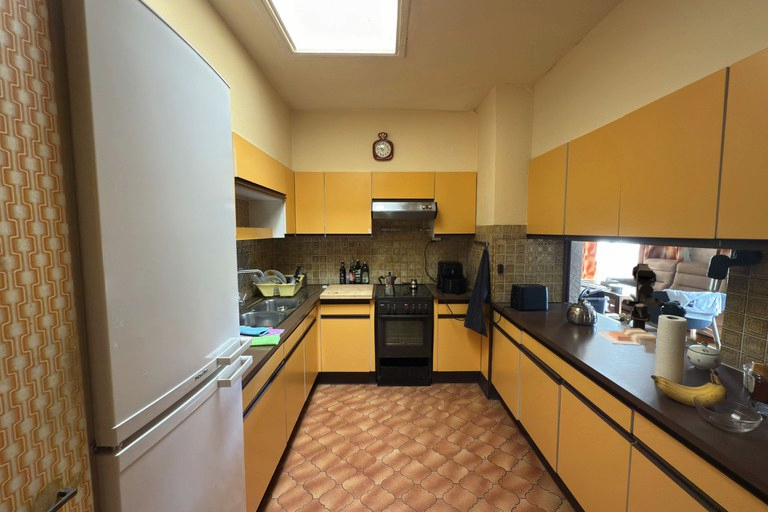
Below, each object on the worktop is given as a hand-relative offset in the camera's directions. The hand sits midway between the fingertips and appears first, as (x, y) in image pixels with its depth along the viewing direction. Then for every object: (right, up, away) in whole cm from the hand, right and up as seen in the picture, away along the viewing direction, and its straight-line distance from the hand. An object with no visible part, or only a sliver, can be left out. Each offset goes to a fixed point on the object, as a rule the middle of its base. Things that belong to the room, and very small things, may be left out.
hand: (642, 317), depth 172 cm
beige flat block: (-15, -14, -19) cm, 28 cm away
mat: (-15, -12, -1) cm, 19 cm away
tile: (-14, -9, -1) cm, 17 cm away
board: (-4, -12, -3) cm, 13 cm away
